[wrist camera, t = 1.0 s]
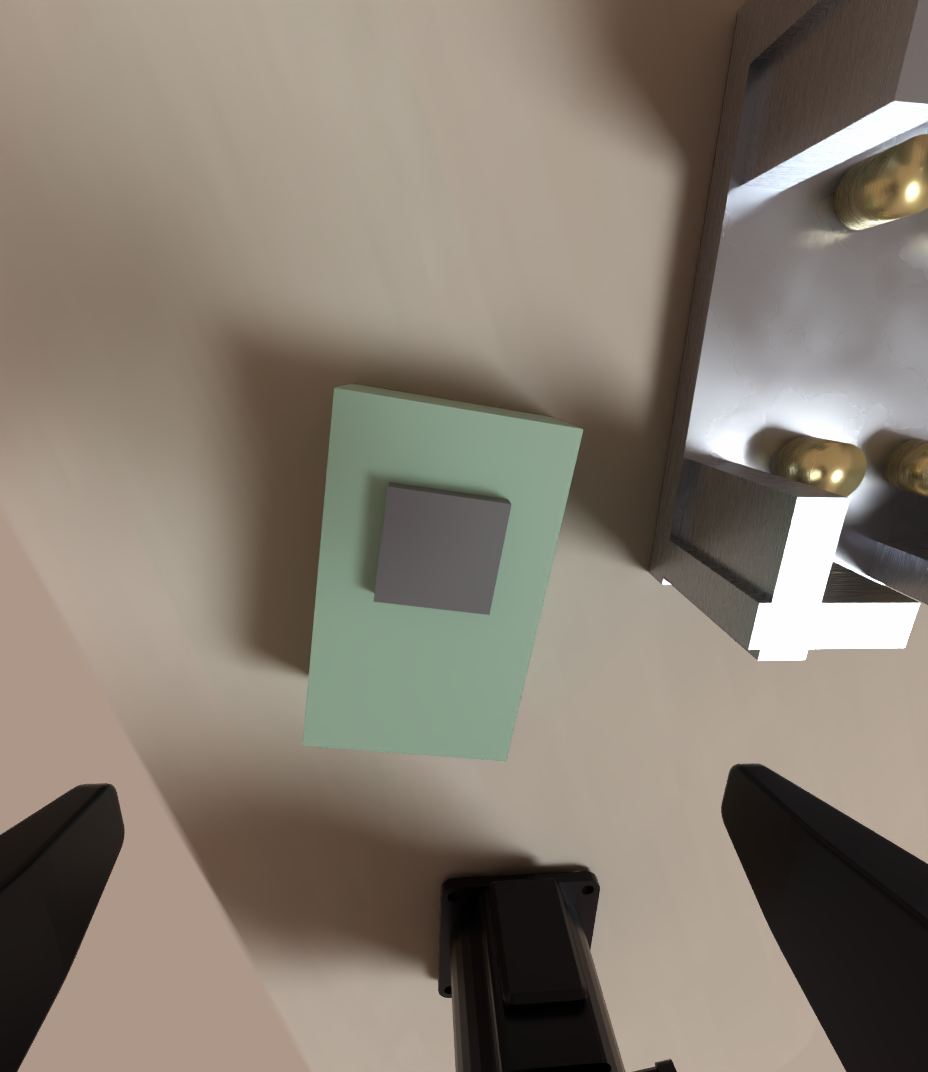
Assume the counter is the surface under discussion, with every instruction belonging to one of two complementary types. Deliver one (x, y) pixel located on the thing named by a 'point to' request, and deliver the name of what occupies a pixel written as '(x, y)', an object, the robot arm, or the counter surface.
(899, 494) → the chassis
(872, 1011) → the robot arm
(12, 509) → the counter surface
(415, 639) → the green block
